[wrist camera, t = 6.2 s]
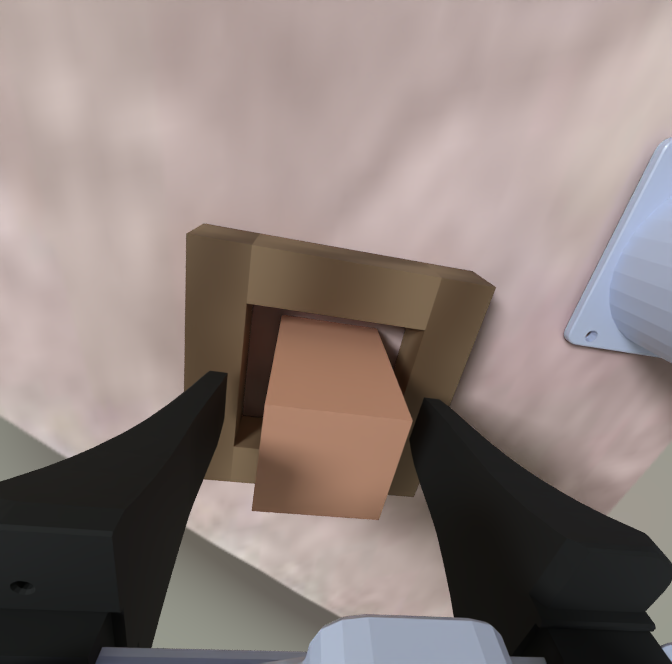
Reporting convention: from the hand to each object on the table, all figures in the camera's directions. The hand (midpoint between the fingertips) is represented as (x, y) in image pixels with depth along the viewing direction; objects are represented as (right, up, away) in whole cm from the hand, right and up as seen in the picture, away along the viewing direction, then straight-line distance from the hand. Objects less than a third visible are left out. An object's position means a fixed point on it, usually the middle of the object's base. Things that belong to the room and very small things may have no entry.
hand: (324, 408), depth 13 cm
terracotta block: (0, +1, +3) cm, 3 cm away
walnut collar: (0, +1, +3) cm, 3 cm away
